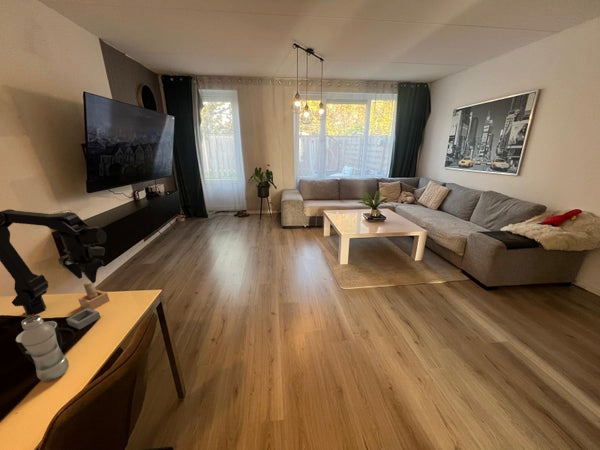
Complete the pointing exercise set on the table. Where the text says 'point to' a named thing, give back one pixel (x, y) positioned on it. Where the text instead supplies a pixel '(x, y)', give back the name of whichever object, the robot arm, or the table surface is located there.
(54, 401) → the table surface
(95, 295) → the dowel
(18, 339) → the mug
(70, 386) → the table surface
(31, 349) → the plastic bottle
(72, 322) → the socket block
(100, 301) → the square box
